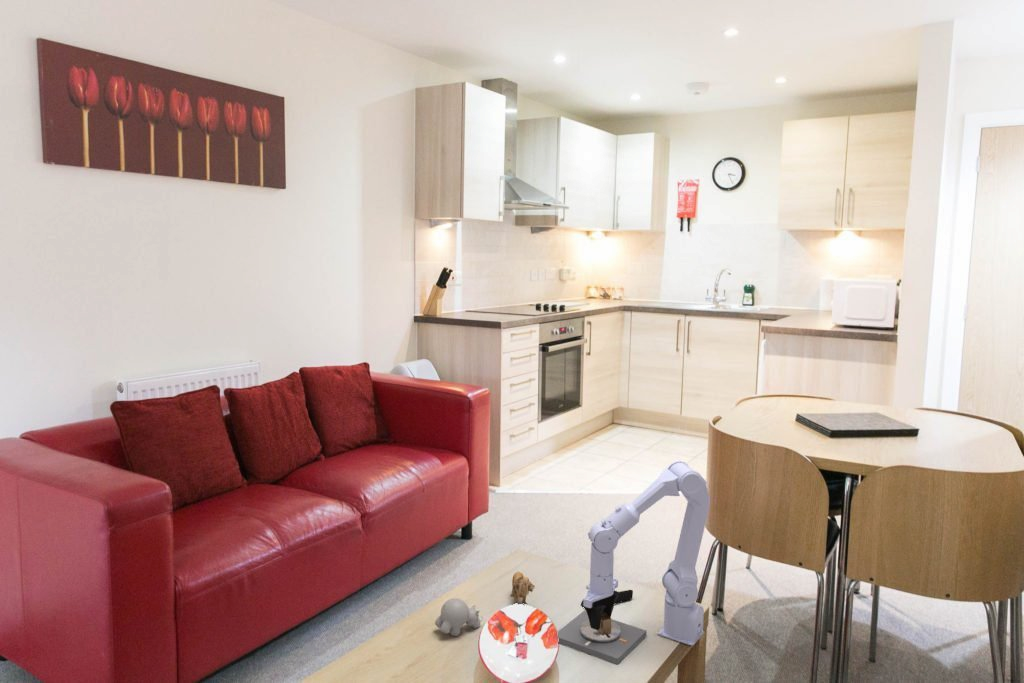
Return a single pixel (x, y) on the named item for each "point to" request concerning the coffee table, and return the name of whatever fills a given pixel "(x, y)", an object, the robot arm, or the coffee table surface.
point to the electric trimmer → (622, 596)
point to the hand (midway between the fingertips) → (600, 623)
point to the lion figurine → (521, 587)
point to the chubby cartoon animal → (457, 617)
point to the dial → (601, 630)
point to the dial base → (603, 650)
